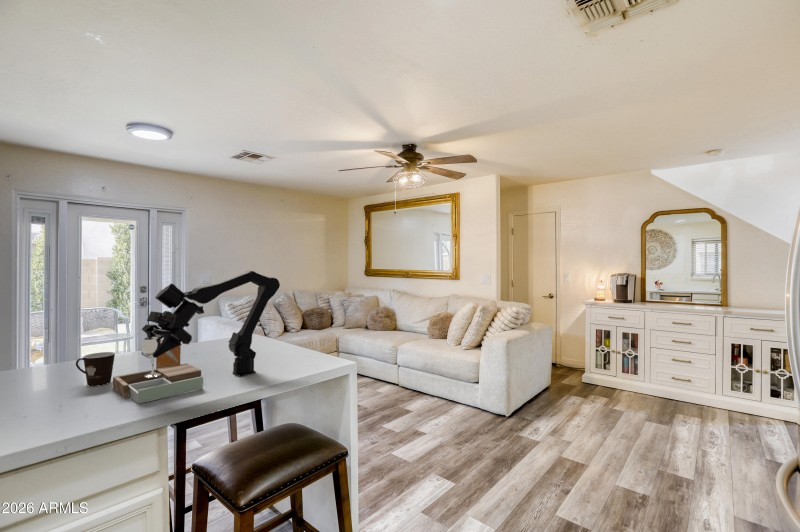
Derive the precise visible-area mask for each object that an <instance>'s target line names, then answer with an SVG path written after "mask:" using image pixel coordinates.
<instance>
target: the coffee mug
mask: <svg viewBox="0 0 800 532" xmlns="http://www.w3.org/2000/svg"><path fill="white" fill-rule="evenodd" d="M115 353H116V352H113V351H101V352H100V351H99V352H94V353H89V354H85V355H83V356H82V358H78V359H77V360H76V361H75V367H76V368H77V369H78V370H79V371H80V372H82V373H83V374H84V375H85V379H86V385H89V386H88V387H98V386H97V385H101V386H104V385H103V384H105V385H108V384H110V383H111V382H112V378H113V369H114V364H115V363H114V362H115V356H116V354H115ZM80 361H83V365H84V366H83V367H84V369H82V368H81V367H80V365H79V362H80ZM107 383H108V384H107Z"/></svg>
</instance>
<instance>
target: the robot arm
mask: <svg viewBox="0 0 800 532" xmlns="http://www.w3.org/2000/svg"><path fill="white" fill-rule="evenodd" d="M248 283H252V284H254V285H256V286H258V287H257V293H256V294H257V295H256V298H255V300H254V302H253V304H252V306H251V308H250V310H249V312H248V314H247V316H246V318H245V320H244V322H243V324H242V326H241V329H240V330H239V331H238V332H233V333H232V334H231V337H230V339H229V341H227V342H228V349H229V351H230V352H231V353H233V356H234V362H233V366H232V367H233V368H232V369H233V371H232V374H234V375H235V376H238V377H244V376H248V374H249V375H252V373H253V374H256V373H257V371H256V370H255V358H256V355H257V352H255V351H254V350H253V349H252V348H251V346H252V343H253V334H254V331H255V329H256V327H257V326H258V323H259V322H260V319H261V317H262V315H263V313H264V310H265V309H266V306H267V304H268V303H269V301H270V300H271V299H272V298H273V296H275V295H276V293H277V291H279V289H280V286H281V285H280V281H279V280H278V278H276V277H270V276H269V277H268V276H265V275H264V274H263V275H262V274H260V273H258V272H255V271H254V270H247V271H245V272H243V273H239V274H238V275H235V276H233V277H230V278H227V279H224V280H222V281H219V282H217V283H212V284H206V285H201V286H197V287H195V288H193V289H192V290H190V291H184V292H183V290H181V289H179V288H178V287H177V286H176V285H175V284H174V283H169V285H167V286H166V287H164V288H163V289H161V290H160V291H159V292H158V293H157V294H156V295H155V297H154V299H156V300H157V301H158V302H160V303H161V304H163V305H164V306H166V307H167V308H168V309H172V308H174V309H175V310H174V311H173V312H172V311H170V310H169V311H168V310H164V311H163V312H159V311H152V310H151V311H149V312H150V313H149V315H148V317H147V319H146V321H147V322H152V323H155V324H152V323H148V324H145V325H144V326H143V327H142V328H141V330H142V331H143V332H144V333H145V334H146V335H147V337H146V338H149V337H161V339H163V341H162V343H161V344H160V346H159V347H158V348H157V350H156V351H155V353H154V355H153V357H154V359H156V357H158V356H160V355H162V354H164V353H166V352H167V351H169V350H171V349H173V348H175V347H177V346H182V345H189V344H190V343H191V342H192V340H193V336H192V334H190V333H189V332H188V331H187V330H186V329H185V328H188V327H189V326H190V323H189V322H190V321H191V320H192V319H193V317H194V316H195V315H196V314H198V315H203V314H205V310H204V306H203V305H205V304H208V303H210V302H212V301H213V300H215V299H217V298H218V297H219V296H220V295H222V294H223V293H227V292H228V291H232V290H233V289H235V288H238V287H240V286H243V285H245V284H248ZM189 300H190V301H189ZM197 303H198V304H202V306H200V305H198V304H197ZM141 355H142V356H143V357H145V356H144V355H143V354H142V352H141Z"/></svg>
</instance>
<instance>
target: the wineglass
mask: <svg viewBox="0 0 800 532" xmlns="http://www.w3.org/2000/svg"><path fill="white" fill-rule="evenodd" d="M161 343H162V339H161V337H149V338H148V337H145V338H143V341H142V345H141V353H142V354H143V355H144V356H143V355H142V354H141V355H142V356H143V357H145V358H148V359H151V360H150V363H151V370H152V372H151V373H150V374H147V375H145V376H144V377H147V378H149V377H156V376H159V375H161V373H155V372H154V369H155V367H154V366H155V363H156V359H155V358H154V357H153V355H154V353H155V351H156V350H157V348H158V347H159V346H160V344H161Z"/></svg>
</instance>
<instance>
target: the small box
mask: <svg viewBox="0 0 800 532" xmlns="http://www.w3.org/2000/svg"><path fill="white" fill-rule="evenodd" d="M162 341H163V339H162ZM181 346H182V345H181ZM181 346H177V347H175V348H173V349H171V350H169V351H167V352H166V353H164V354H162V355H160V356H158V357H156V358H155V369H159V368H164V367H170V366H175V365H181Z"/></svg>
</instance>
